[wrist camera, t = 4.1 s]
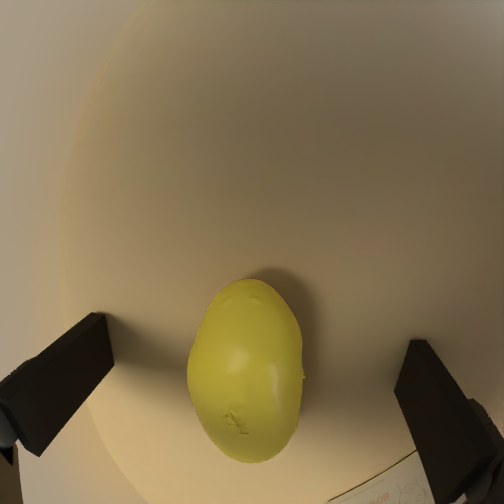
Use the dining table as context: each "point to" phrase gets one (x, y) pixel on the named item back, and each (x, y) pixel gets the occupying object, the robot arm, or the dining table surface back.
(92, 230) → the dining table surface
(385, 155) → the dining table surface
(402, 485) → the small box
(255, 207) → the dining table surface
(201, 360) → the lemon
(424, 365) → the robot arm
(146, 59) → the dining table surface
